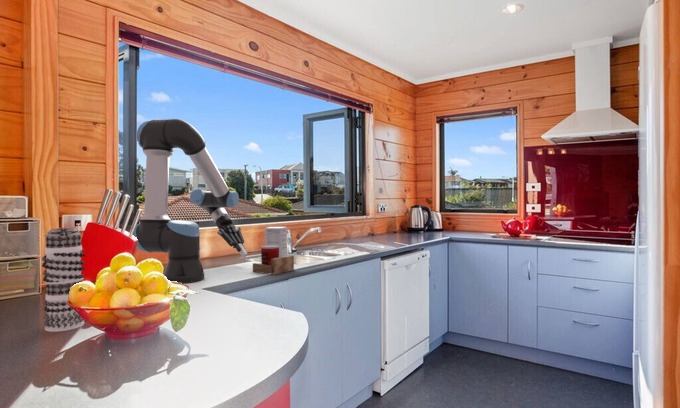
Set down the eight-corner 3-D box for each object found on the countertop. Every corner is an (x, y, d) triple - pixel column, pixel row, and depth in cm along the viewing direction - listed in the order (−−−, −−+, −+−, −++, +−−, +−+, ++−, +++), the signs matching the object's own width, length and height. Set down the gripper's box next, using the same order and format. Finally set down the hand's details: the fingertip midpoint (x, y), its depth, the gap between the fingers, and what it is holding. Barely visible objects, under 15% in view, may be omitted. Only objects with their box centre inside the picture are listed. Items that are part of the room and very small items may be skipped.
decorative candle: (94, 321, 108) (93, 227, 108) (69, 332, 99) (67, 230, 98) (61, 320, 109) (60, 227, 108) (33, 332, 99) (31, 230, 99)
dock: (274, 274, 172) (273, 259, 171) (252, 271, 179) (252, 256, 179) (293, 270, 182) (293, 255, 182) (272, 267, 189) (272, 253, 189)
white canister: (288, 257, 219) (287, 226, 219) (282, 260, 210) (282, 227, 209) (271, 257, 221) (270, 226, 220) (264, 260, 212) (264, 227, 211)
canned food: (281, 269, 184) (281, 245, 183) (276, 272, 176) (275, 247, 176) (264, 269, 185) (264, 245, 185) (259, 272, 177) (258, 247, 177)
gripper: (229, 223, 207) (251, 259, 198) (207, 225, 197) (230, 262, 187) (236, 213, 204) (259, 249, 195) (214, 214, 194) (237, 252, 184)
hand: (245, 255), depth 191 cm, fingers closed
